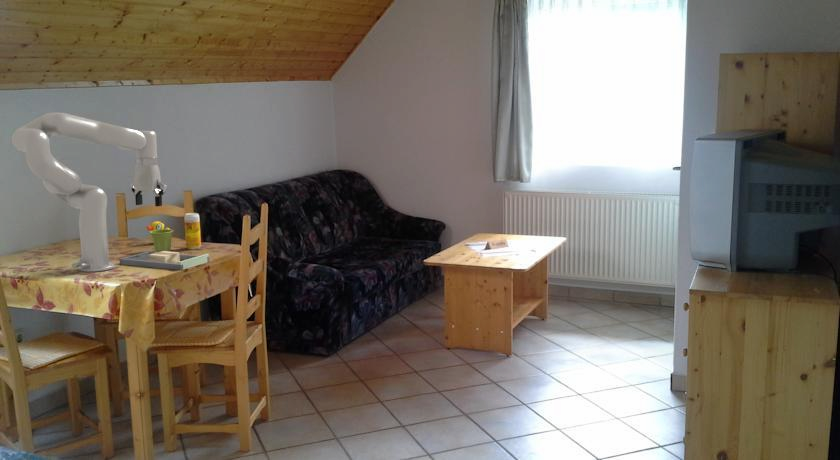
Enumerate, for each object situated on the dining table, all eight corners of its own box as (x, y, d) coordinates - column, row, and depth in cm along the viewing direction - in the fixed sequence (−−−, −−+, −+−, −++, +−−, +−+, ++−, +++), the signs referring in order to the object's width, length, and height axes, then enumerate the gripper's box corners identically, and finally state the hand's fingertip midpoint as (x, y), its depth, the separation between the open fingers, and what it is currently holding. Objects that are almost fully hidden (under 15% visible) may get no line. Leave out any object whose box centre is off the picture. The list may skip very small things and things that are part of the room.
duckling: (151, 246, 335) (149, 223, 333) (144, 244, 338) (143, 222, 337) (174, 242, 343) (173, 220, 342) (167, 240, 347) (166, 219, 345)
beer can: (184, 249, 326) (182, 214, 323) (189, 247, 332) (187, 212, 329) (198, 249, 326) (196, 214, 323) (203, 246, 332) (201, 212, 329)
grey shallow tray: (181, 270, 287) (180, 262, 286) (119, 263, 298) (119, 256, 298) (209, 261, 301) (208, 254, 301) (149, 255, 313) (149, 248, 313)
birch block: (165, 266, 295) (164, 256, 294) (149, 264, 298) (148, 254, 297) (180, 262, 302) (179, 252, 301) (164, 260, 305) (163, 250, 305)
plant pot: (159, 254, 316) (158, 233, 315) (146, 251, 322) (145, 231, 321) (179, 250, 324) (177, 230, 322) (165, 248, 329) (164, 228, 328)
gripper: (122, 162, 301) (124, 205, 304) (158, 163, 295) (160, 207, 298) (136, 161, 308) (138, 203, 311) (171, 162, 302) (172, 205, 304)
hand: (148, 205), depth 304 cm, fingers open, 9 cm apart
